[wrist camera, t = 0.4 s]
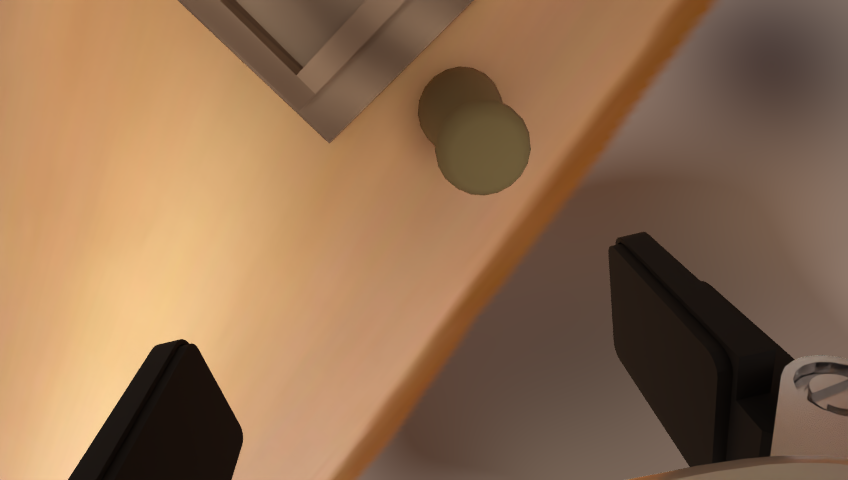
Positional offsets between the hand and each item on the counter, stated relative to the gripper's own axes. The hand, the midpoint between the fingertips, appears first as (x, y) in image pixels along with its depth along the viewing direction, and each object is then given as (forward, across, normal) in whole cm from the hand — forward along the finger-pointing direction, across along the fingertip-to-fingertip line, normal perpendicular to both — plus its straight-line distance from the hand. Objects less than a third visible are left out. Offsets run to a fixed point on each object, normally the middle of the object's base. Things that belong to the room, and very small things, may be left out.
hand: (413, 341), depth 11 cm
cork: (+27, -5, +2) cm, 27 cm away
